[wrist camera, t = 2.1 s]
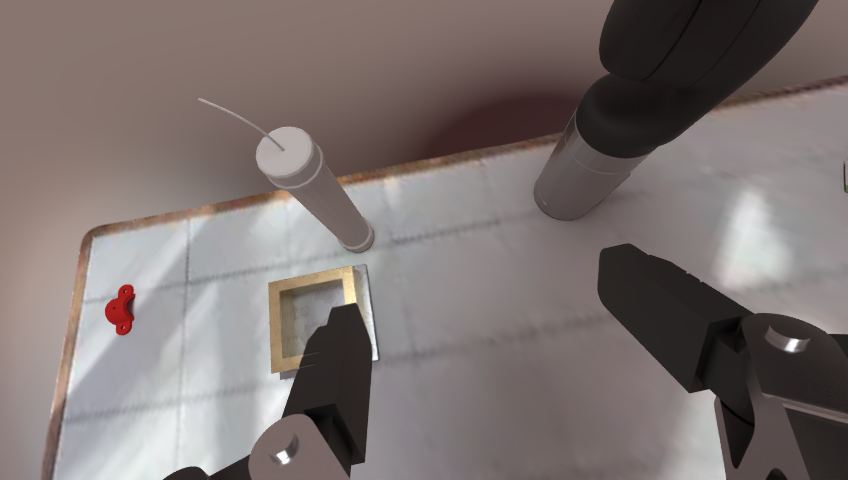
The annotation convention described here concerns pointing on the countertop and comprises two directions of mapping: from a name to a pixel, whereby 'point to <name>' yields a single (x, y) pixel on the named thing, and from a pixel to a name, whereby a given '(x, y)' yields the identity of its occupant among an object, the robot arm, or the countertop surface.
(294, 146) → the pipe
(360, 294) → the socket
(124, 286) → the pipe clamp
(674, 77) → the robot arm
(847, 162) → the syrup box
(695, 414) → the countertop surface
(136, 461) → the countertop surface
